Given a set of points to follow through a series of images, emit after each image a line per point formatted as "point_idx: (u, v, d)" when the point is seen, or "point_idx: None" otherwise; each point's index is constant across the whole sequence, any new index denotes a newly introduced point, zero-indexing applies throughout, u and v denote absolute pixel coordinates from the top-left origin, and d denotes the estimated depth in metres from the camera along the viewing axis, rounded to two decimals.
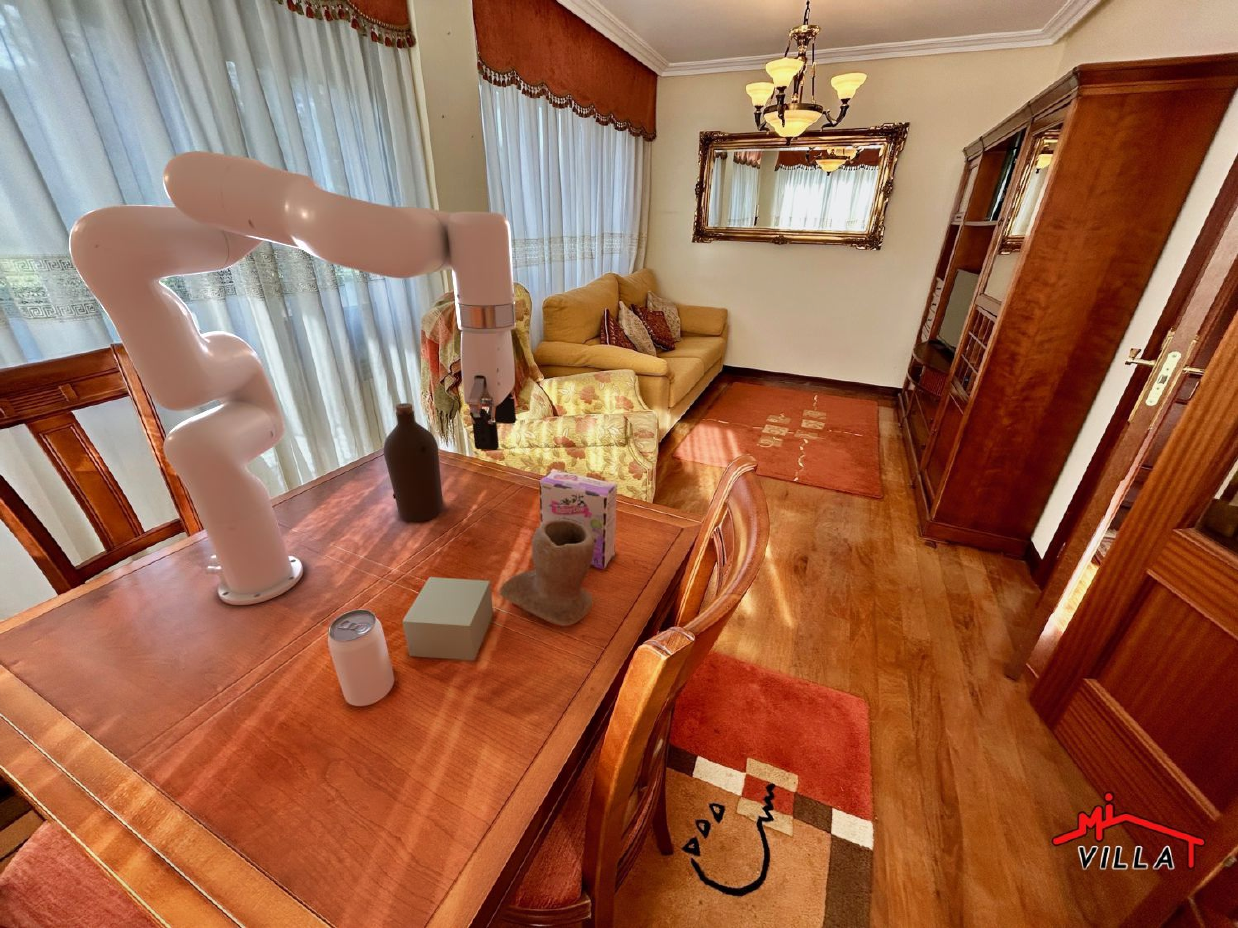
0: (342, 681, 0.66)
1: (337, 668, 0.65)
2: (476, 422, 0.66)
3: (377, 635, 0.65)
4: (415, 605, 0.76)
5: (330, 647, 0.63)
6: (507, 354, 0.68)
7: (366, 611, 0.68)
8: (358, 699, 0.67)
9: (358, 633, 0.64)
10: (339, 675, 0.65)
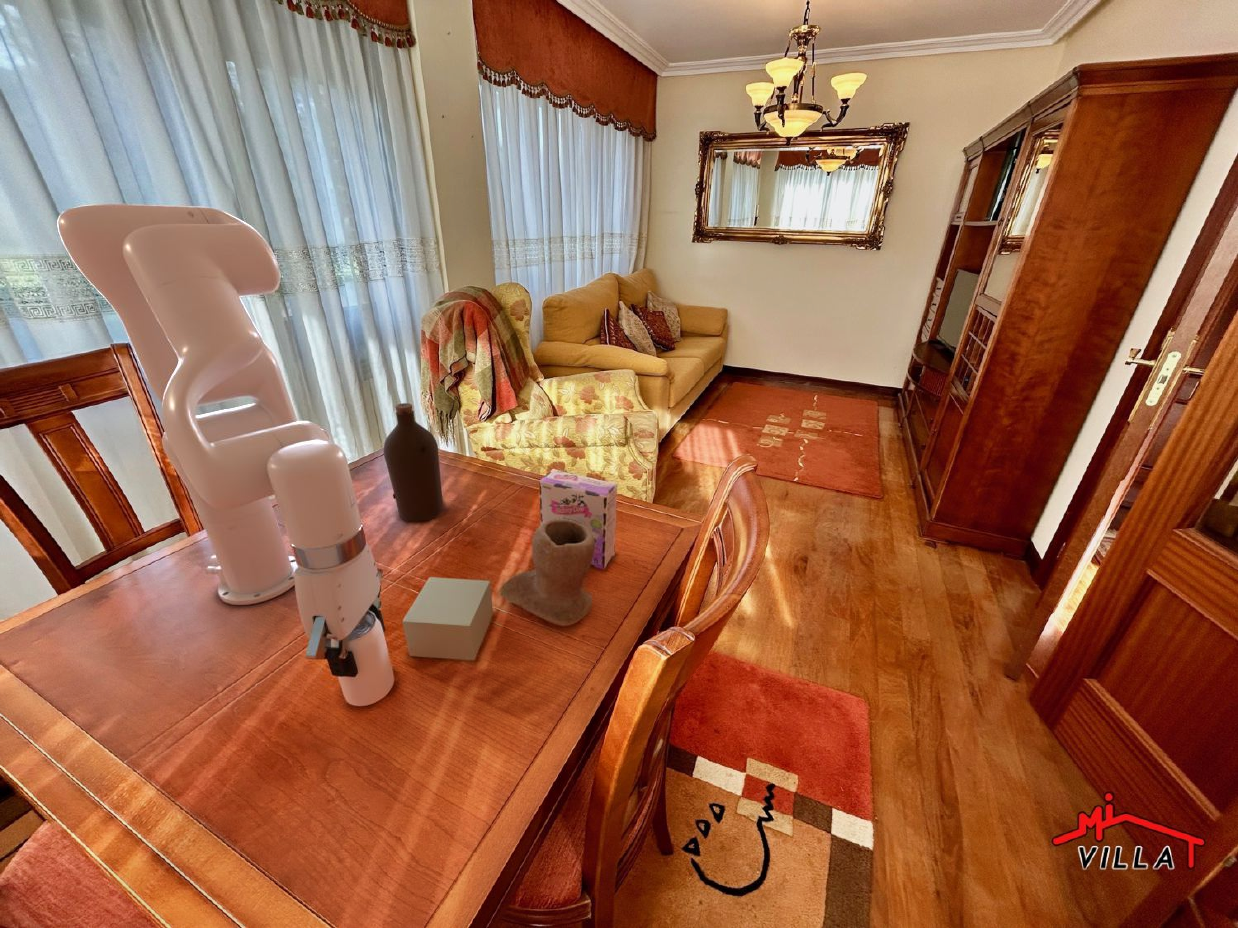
0: (342, 681, 0.66)
1: None
2: None
3: (377, 635, 0.65)
4: (415, 605, 0.76)
5: None
6: (357, 578, 0.61)
7: None
8: (358, 699, 0.67)
9: (358, 633, 0.64)
10: None
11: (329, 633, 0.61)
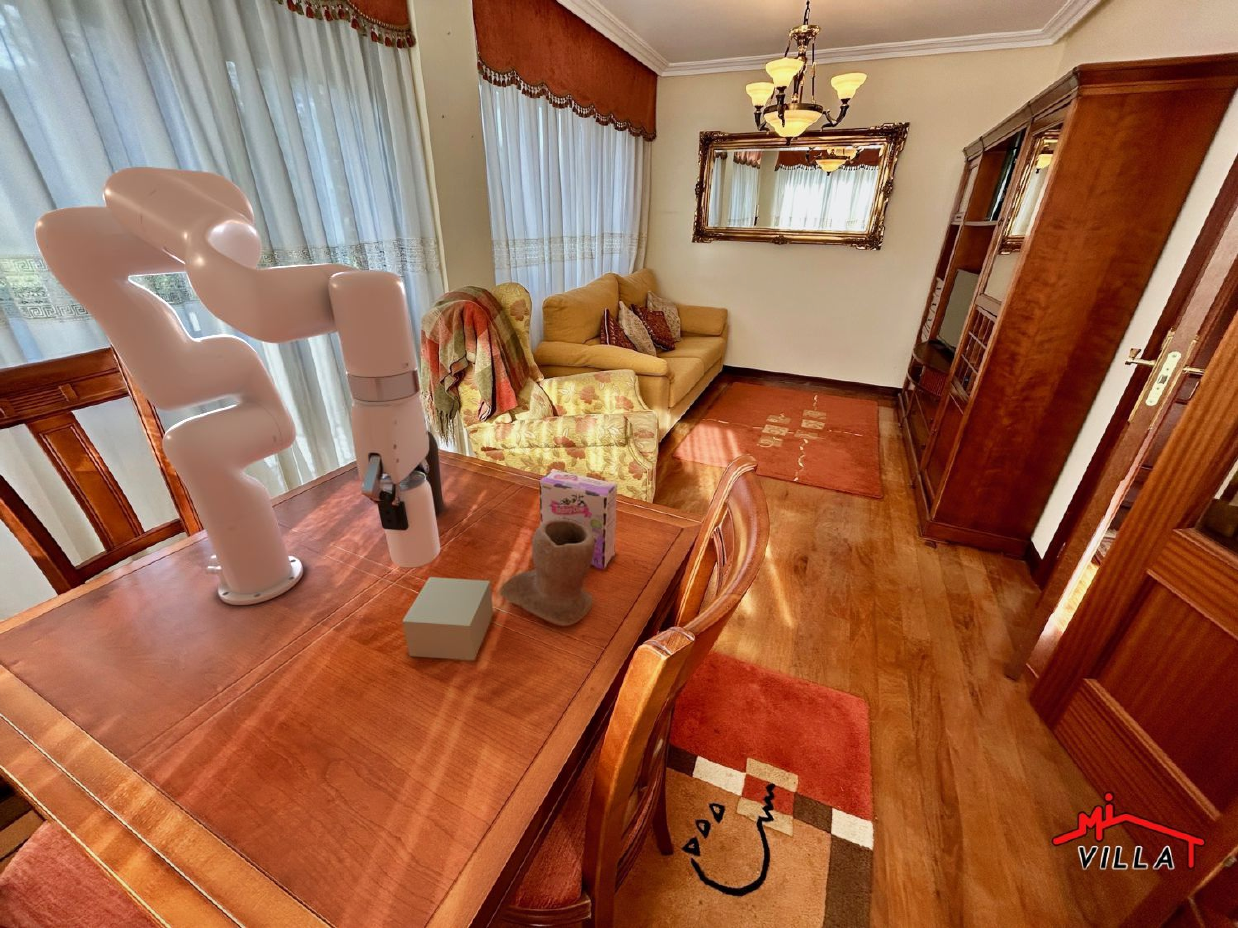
0: (391, 539, 0.65)
1: None
2: (379, 503, 0.60)
3: (427, 492, 0.65)
4: (415, 605, 0.76)
5: None
6: (411, 424, 0.60)
7: (414, 472, 0.67)
8: (407, 559, 0.66)
9: (409, 487, 0.63)
10: (389, 532, 0.65)
11: (382, 479, 0.60)
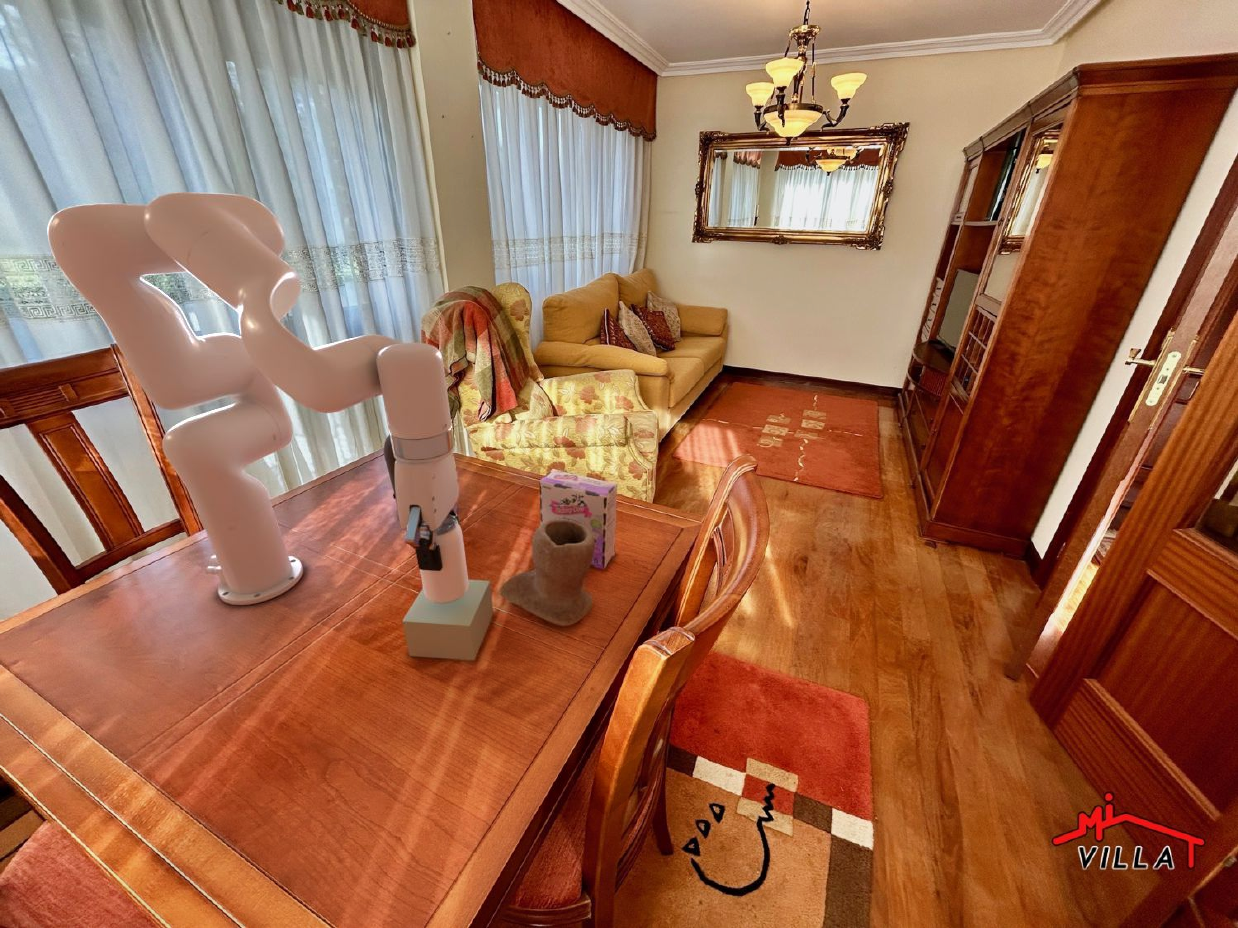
0: (426, 578, 0.71)
1: None
2: (417, 548, 0.66)
3: (459, 535, 0.71)
4: (415, 605, 0.76)
5: None
6: (446, 476, 0.67)
7: None
8: (440, 596, 0.72)
9: (443, 531, 0.70)
10: (424, 571, 0.71)
11: (420, 526, 0.66)
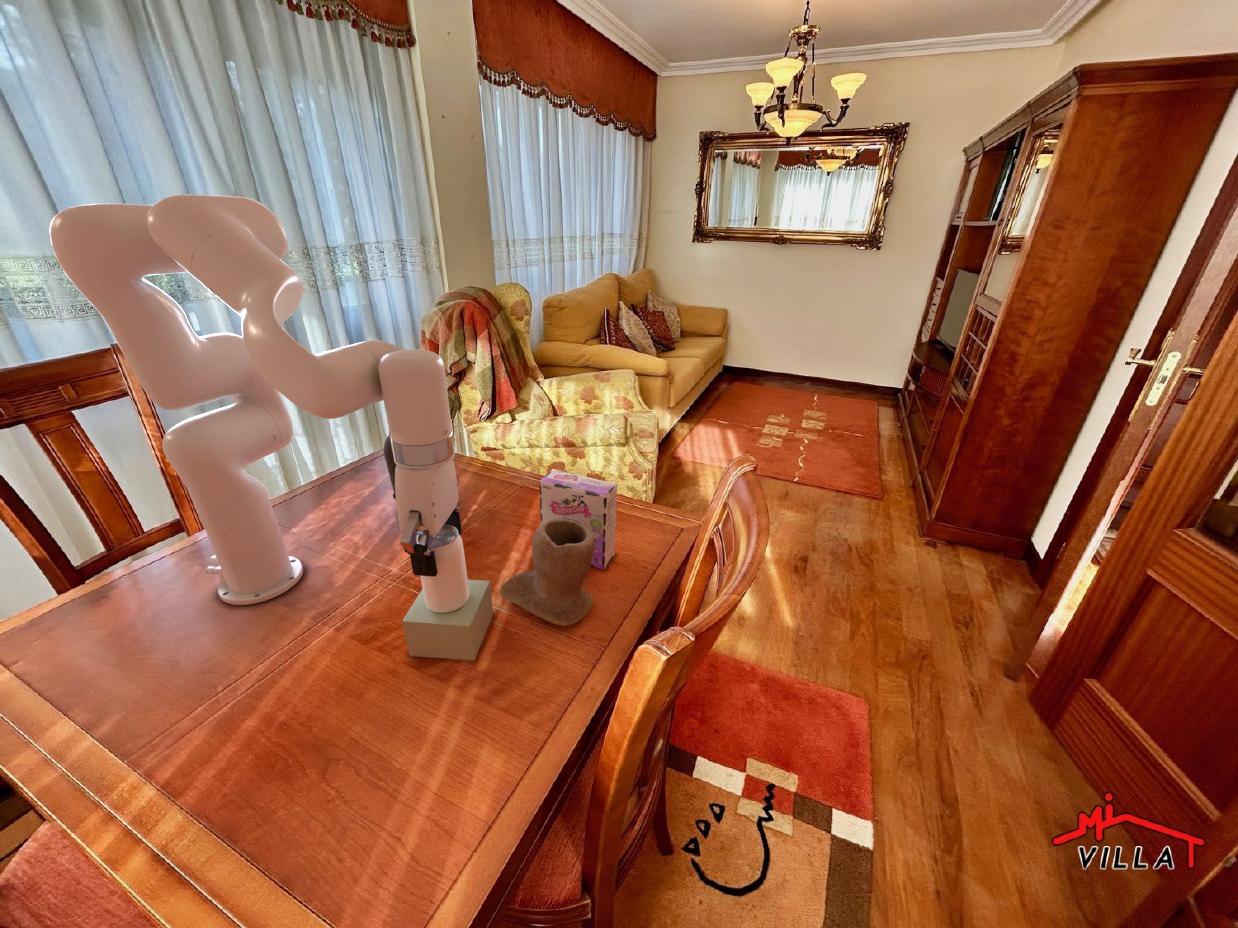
0: (428, 588, 0.72)
1: None
2: (412, 554, 0.65)
3: (460, 546, 0.72)
4: (415, 605, 0.76)
5: None
6: (446, 482, 0.67)
7: (447, 526, 0.74)
8: (441, 605, 0.73)
9: (444, 542, 0.70)
10: (425, 582, 0.72)
11: (417, 530, 0.66)
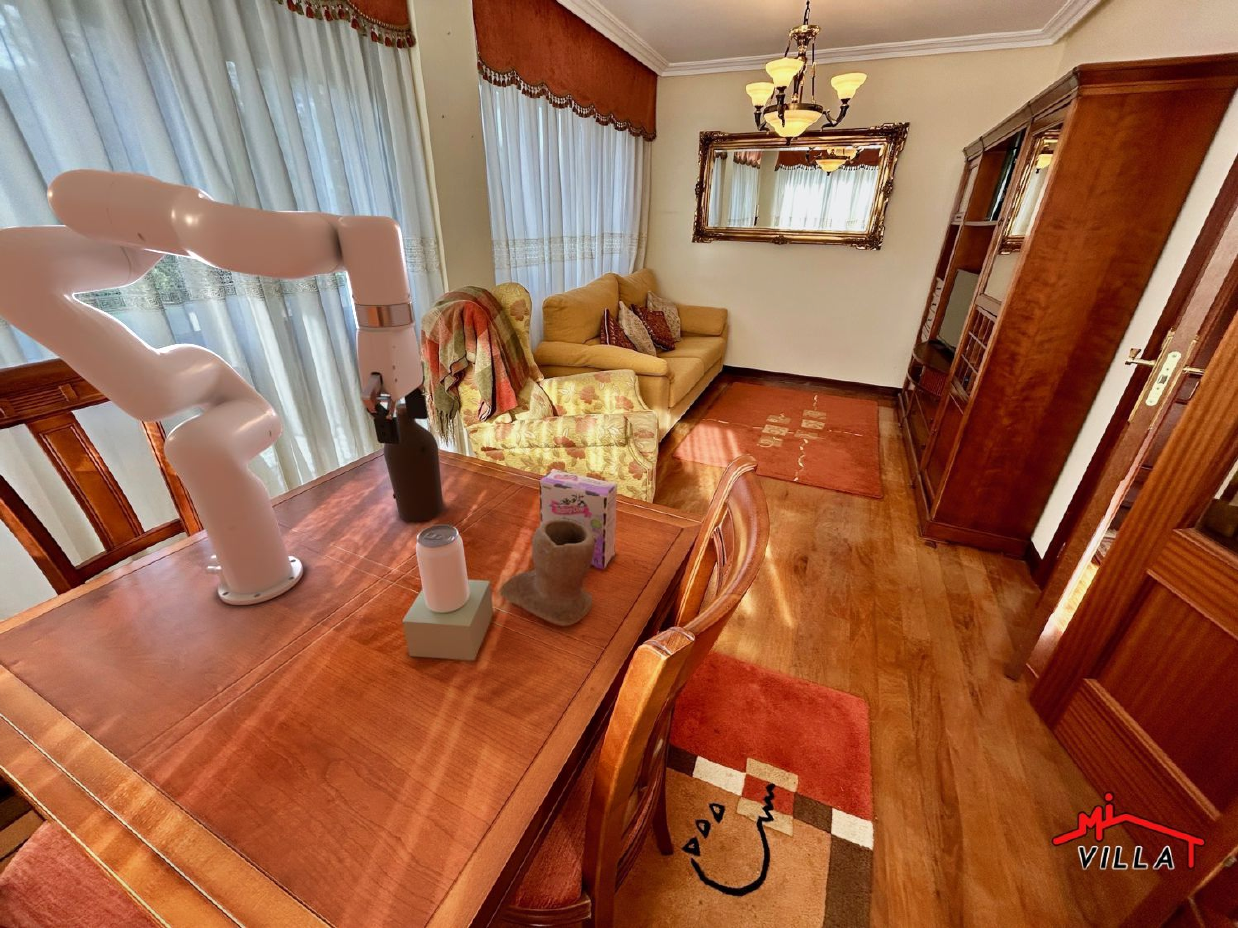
0: (428, 588, 0.72)
1: (424, 575, 0.71)
2: (375, 417, 0.69)
3: (460, 546, 0.72)
4: (415, 605, 0.76)
5: (419, 554, 0.70)
6: (407, 352, 0.71)
7: (447, 526, 0.74)
8: (441, 605, 0.73)
9: (444, 542, 0.70)
10: (425, 582, 0.72)
11: (380, 396, 0.70)
